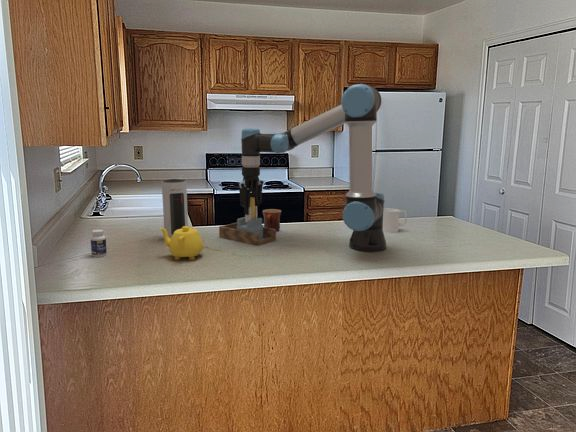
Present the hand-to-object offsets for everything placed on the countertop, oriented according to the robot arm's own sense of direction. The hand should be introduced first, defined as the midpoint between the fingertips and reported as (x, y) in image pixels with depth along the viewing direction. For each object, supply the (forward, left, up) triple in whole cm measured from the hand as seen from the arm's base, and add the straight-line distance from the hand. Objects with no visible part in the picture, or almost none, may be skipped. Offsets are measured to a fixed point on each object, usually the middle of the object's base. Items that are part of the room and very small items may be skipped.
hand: (251, 221), depth 206 cm
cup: (-36, -60, -9) cm, 71 cm away
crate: (+1, 0, -8) cm, 8 cm away
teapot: (+6, +33, -9) cm, 35 cm away
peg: (0, 0, -2) cm, 2 cm away
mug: (+4, -18, -9) cm, 21 cm away
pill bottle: (+31, +52, -9) cm, 61 cm away
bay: (+2, 0, -9) cm, 9 cm away
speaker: (+29, +17, -9) cm, 35 cm away
